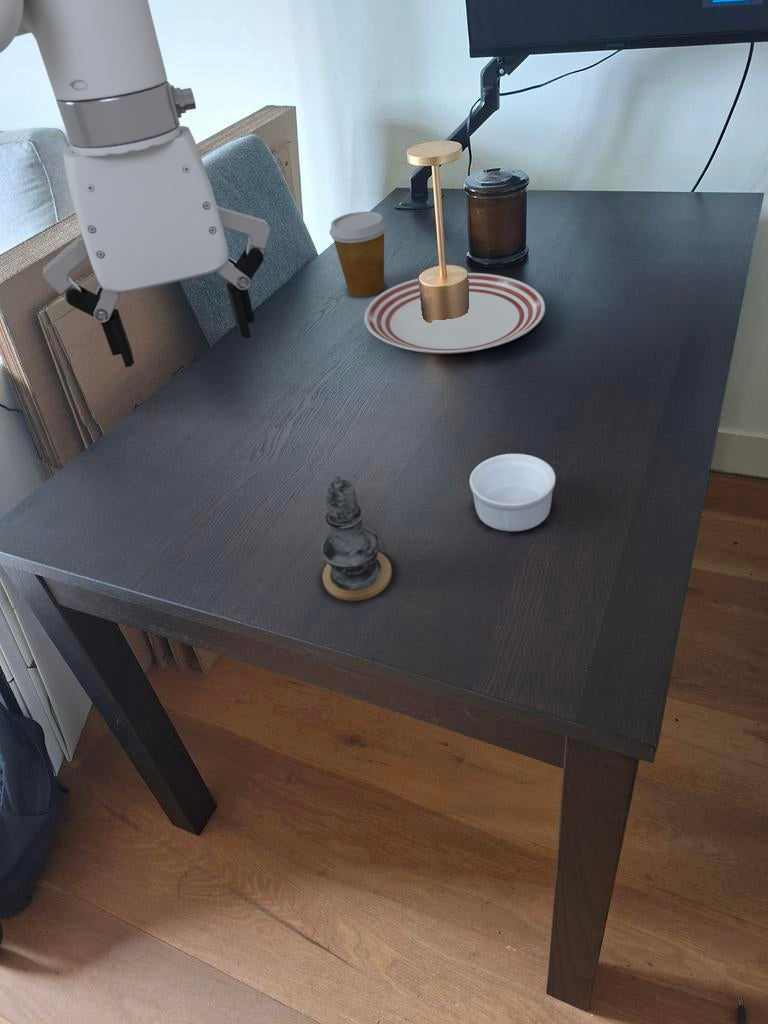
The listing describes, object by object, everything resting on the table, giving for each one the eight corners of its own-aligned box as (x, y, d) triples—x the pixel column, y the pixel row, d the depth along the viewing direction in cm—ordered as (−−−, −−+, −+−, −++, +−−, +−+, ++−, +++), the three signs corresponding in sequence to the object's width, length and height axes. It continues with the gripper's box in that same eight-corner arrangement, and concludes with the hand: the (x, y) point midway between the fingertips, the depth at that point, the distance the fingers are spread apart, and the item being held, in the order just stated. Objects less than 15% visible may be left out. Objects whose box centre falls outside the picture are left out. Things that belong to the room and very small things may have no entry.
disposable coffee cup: (376, 274, 138) (367, 206, 130) (403, 289, 131) (395, 219, 124) (330, 289, 135) (318, 221, 127) (355, 306, 128) (344, 235, 120)
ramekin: (522, 548, 77) (522, 515, 74) (454, 516, 82) (452, 484, 79) (571, 503, 82) (572, 470, 79) (503, 475, 87) (503, 444, 84)
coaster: (335, 610, 73) (334, 605, 73) (315, 565, 79) (314, 561, 78) (402, 586, 75) (401, 582, 74) (378, 544, 80) (377, 540, 80)
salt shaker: (395, 562, 77) (381, 466, 69) (363, 600, 73) (344, 503, 66) (348, 545, 80) (329, 451, 72) (315, 581, 76) (291, 486, 68)
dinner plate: (556, 290, 123) (557, 270, 121) (528, 374, 104) (528, 352, 101) (396, 288, 132) (394, 270, 130) (342, 365, 112) (338, 345, 110)
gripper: (233, 90, 57) (277, 305, 68) (-6, 132, 54) (80, 352, 64) (253, 105, 51) (298, 338, 62) (-13, 154, 48) (82, 392, 58)
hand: (187, 345), depth 63 cm, fingers open, 9 cm apart
